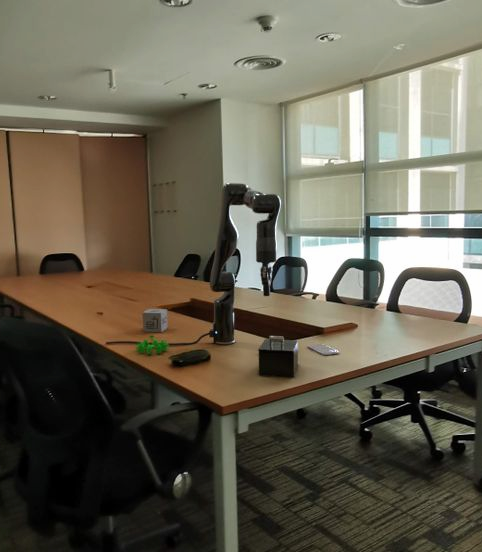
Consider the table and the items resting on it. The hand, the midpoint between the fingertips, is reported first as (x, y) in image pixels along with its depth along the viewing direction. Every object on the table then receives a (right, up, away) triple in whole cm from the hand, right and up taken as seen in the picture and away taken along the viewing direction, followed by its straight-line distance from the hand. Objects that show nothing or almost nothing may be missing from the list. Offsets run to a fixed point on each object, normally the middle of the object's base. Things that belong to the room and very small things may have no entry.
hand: (266, 295), depth 182 cm
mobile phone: (+28, -25, +31) cm, 49 cm away
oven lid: (+5, -19, +4) cm, 20 cm away
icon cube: (-49, -21, +77) cm, 94 cm away
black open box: (+5, -28, +5) cm, 29 cm away
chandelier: (-46, -26, +35) cm, 64 cm away
